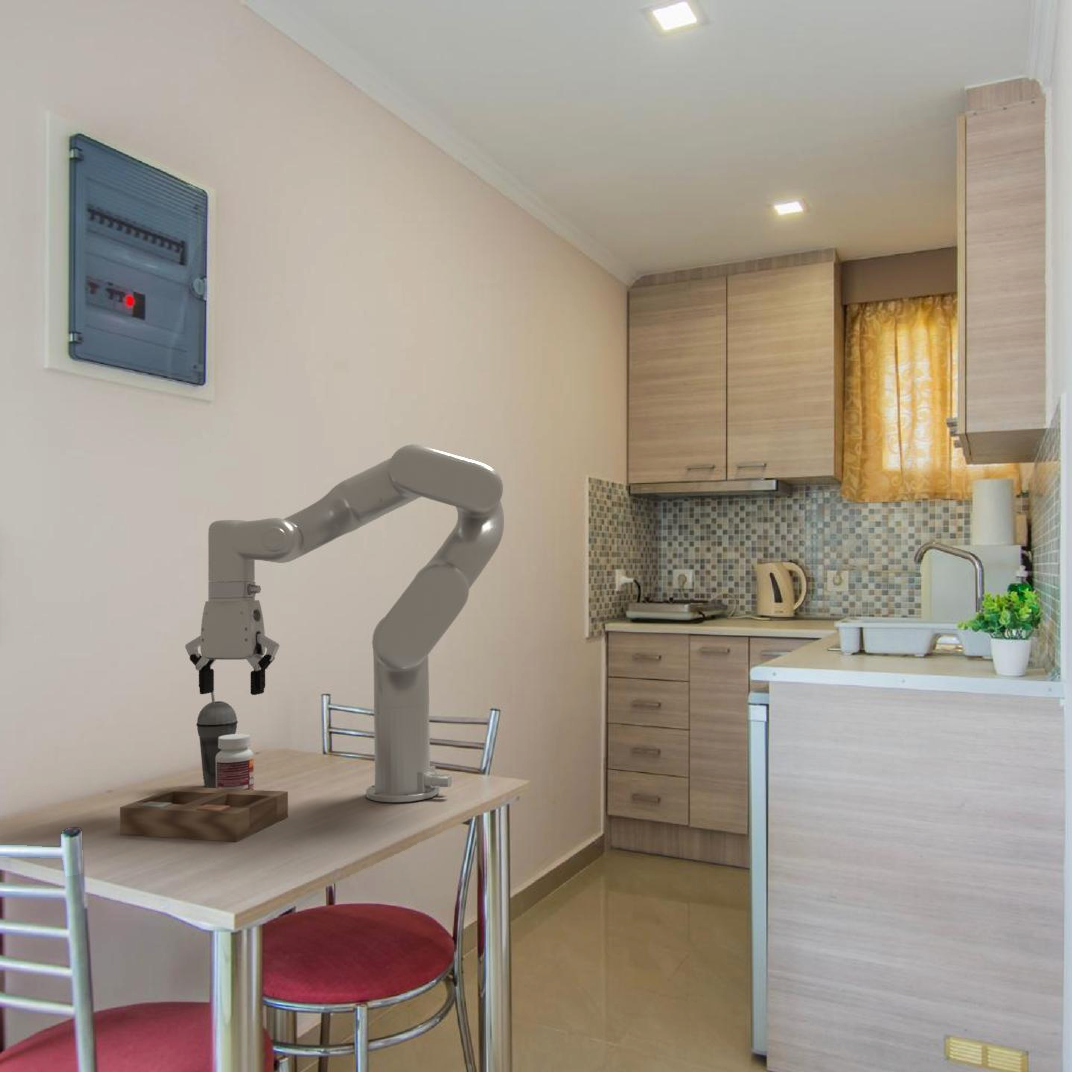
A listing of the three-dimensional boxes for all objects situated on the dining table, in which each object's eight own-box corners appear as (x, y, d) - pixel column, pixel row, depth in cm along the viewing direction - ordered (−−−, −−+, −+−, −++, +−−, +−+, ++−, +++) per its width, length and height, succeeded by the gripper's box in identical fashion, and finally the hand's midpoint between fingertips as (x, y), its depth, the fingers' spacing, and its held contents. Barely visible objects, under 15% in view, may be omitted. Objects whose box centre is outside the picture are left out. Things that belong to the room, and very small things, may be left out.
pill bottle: (258, 804, 156) (257, 736, 156) (221, 809, 152) (220, 740, 153) (247, 797, 161) (247, 731, 161) (211, 802, 157) (211, 735, 158)
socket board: (288, 817, 147) (287, 789, 147) (236, 841, 133) (236, 811, 133) (179, 811, 152) (179, 784, 152) (120, 834, 138) (120, 805, 139)
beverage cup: (230, 790, 166) (229, 679, 167) (190, 791, 167) (189, 679, 167) (243, 781, 174) (243, 674, 175) (205, 782, 174) (204, 675, 175)
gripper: (288, 591, 159) (289, 691, 158) (200, 593, 163) (200, 690, 162) (265, 592, 152) (265, 697, 151) (173, 593, 156) (173, 695, 155)
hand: (231, 693), depth 157 cm, fingers open, 9 cm apart
